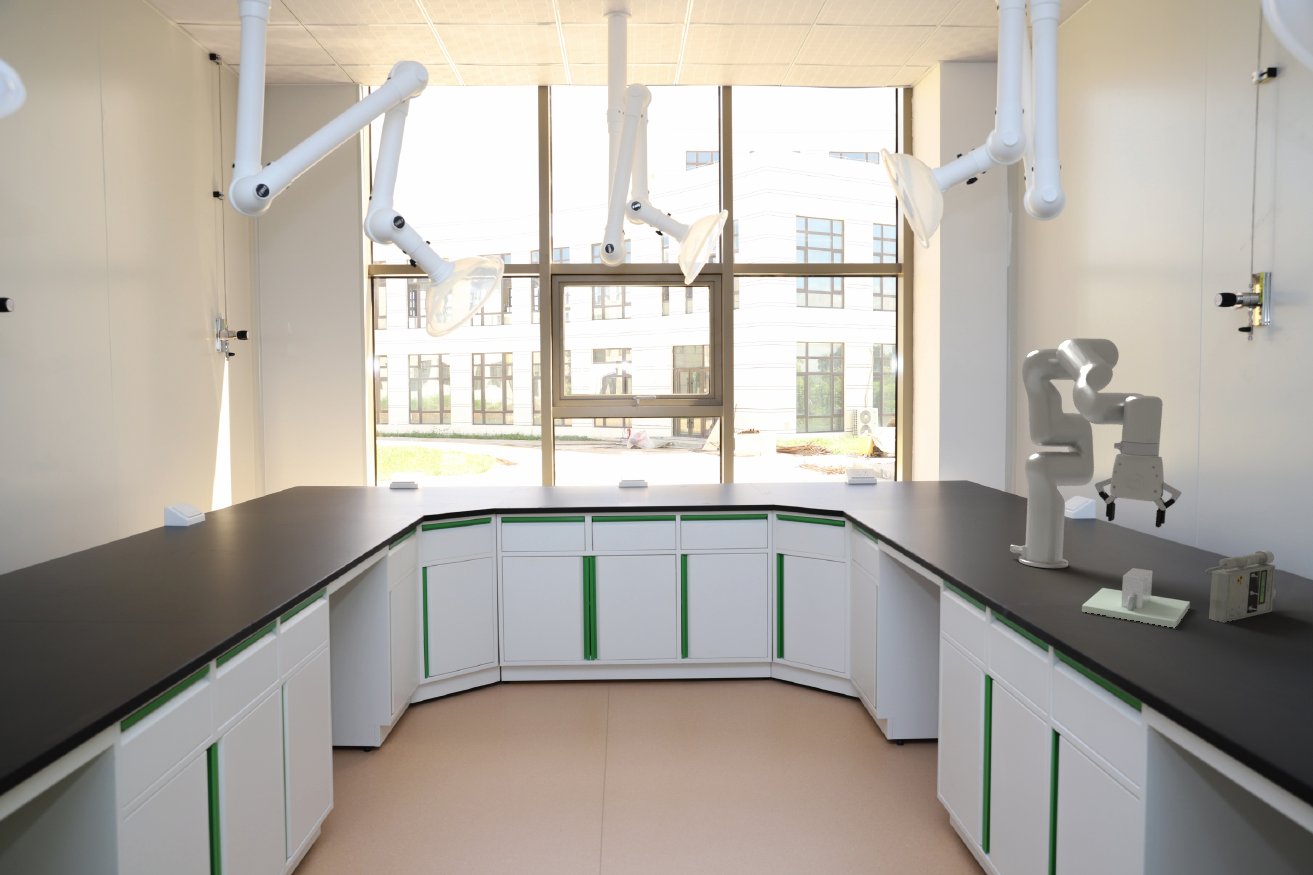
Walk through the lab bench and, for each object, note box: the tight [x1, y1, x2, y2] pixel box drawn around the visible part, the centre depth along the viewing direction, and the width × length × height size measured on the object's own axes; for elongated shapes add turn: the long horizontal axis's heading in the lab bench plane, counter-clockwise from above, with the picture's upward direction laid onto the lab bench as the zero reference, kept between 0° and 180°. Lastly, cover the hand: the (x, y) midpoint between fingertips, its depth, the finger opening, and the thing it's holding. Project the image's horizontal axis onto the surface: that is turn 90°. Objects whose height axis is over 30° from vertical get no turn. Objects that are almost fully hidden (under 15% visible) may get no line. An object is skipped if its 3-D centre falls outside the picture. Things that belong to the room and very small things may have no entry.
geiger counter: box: [1204, 549, 1278, 624], centre depth 186 cm, size 14×6×25 cm
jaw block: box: [1121, 567, 1153, 610], centre depth 187 cm, size 4×10×7 cm, turn 139°
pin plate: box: [1081, 587, 1191, 629], centre depth 188 cm, size 18×20×4 cm
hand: (1134, 523), depth 190 cm, fingers open, 9 cm apart
